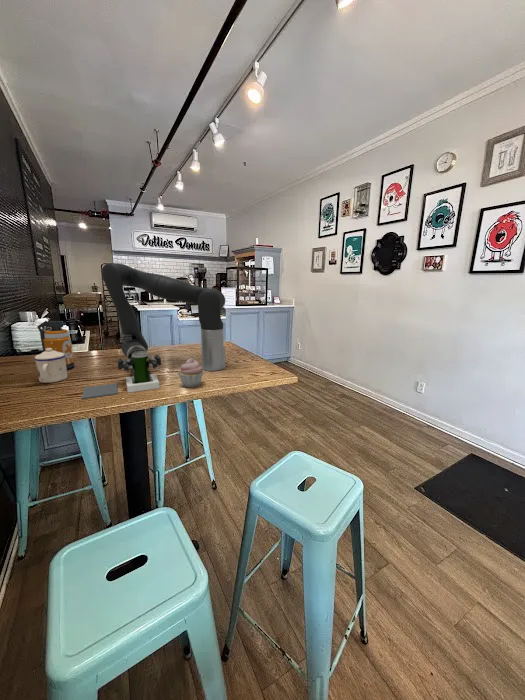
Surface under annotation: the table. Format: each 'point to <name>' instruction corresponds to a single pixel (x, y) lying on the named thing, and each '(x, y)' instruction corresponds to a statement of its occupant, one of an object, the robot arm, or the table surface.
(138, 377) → the beer can
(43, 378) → the teacup with lid
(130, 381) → the collar
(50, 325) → the canister
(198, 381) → the cupcake
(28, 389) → the table surface
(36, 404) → the table surface
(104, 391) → the mat
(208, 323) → the robot arm
